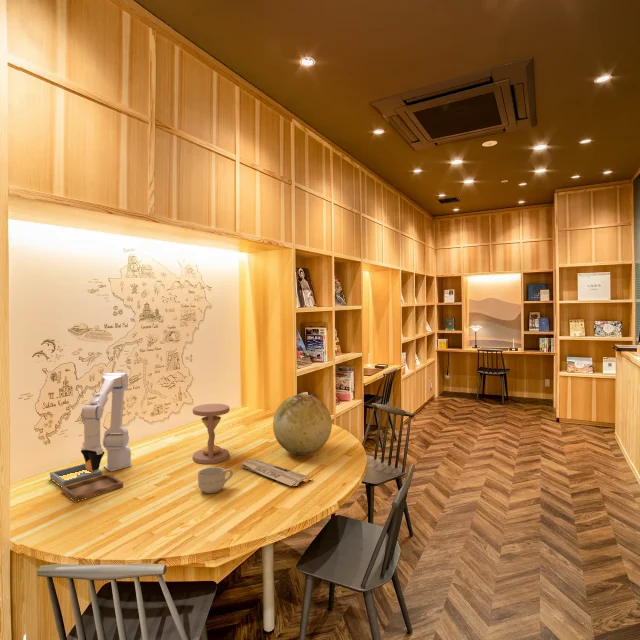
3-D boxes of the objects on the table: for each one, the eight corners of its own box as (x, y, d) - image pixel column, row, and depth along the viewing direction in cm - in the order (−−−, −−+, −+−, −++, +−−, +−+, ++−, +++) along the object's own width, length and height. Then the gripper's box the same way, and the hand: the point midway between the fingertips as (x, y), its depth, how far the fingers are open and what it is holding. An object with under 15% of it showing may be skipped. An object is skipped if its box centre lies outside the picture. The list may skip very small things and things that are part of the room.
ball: (96, 467, 172) (96, 455, 172) (101, 470, 169) (101, 458, 169) (83, 471, 168) (83, 459, 168) (88, 474, 165) (88, 462, 165)
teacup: (197, 497, 162) (197, 477, 162) (197, 486, 172) (197, 467, 172) (233, 493, 166) (233, 473, 166) (232, 482, 176) (232, 463, 176)
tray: (107, 478, 180) (107, 473, 180) (123, 487, 171) (123, 482, 171) (61, 492, 166) (61, 486, 166) (75, 502, 157) (75, 497, 157)
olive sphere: (287, 441, 232) (287, 387, 231) (338, 447, 222) (339, 391, 221) (262, 459, 204) (262, 398, 203) (320, 467, 194) (320, 403, 193)
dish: (87, 469, 190) (87, 462, 190) (101, 477, 180) (101, 470, 180) (50, 479, 178) (50, 472, 178) (63, 489, 169) (63, 481, 169)
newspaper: (312, 481, 179) (312, 473, 179) (293, 491, 169) (293, 482, 169) (255, 462, 201) (255, 455, 201) (235, 470, 191) (235, 462, 191)
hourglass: (224, 464, 197) (224, 411, 196) (188, 464, 197) (187, 411, 196) (232, 451, 215) (232, 403, 214) (198, 451, 214) (198, 403, 214)
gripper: (74, 433, 170) (74, 466, 170) (89, 440, 160) (89, 475, 161) (92, 429, 175) (93, 461, 175) (108, 436, 166) (108, 470, 166)
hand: (92, 468), depth 168 cm, fingers closed on ball, 5 cm apart
